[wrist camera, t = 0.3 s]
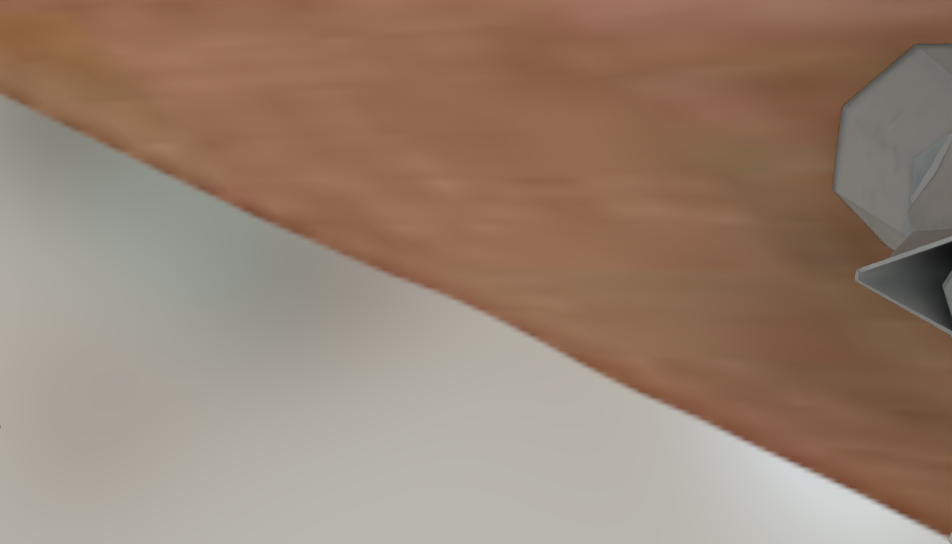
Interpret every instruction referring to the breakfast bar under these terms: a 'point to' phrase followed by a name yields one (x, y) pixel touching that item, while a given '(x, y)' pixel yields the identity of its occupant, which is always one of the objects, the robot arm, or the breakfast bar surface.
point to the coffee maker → (904, 179)
